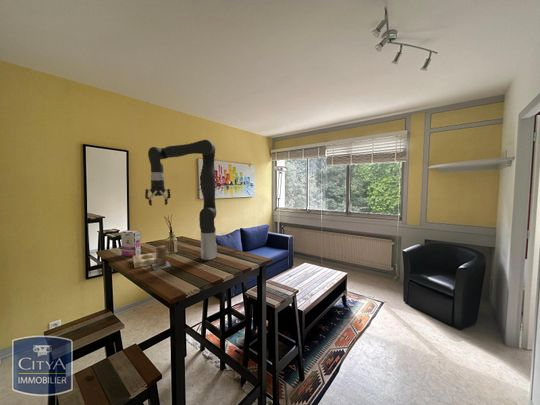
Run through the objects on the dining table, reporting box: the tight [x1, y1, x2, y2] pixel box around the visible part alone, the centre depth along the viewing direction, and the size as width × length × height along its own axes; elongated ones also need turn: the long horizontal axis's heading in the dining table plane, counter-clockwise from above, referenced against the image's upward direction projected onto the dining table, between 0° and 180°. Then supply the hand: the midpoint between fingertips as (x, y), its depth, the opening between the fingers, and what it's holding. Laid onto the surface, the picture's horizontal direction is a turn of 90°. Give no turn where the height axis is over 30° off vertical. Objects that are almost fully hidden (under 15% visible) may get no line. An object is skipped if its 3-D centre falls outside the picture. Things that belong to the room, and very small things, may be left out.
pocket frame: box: [132, 251, 156, 269], centre depth 137 cm, size 14×14×3 cm
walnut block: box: [155, 244, 167, 267], centre depth 130 cm, size 4×4×11 cm
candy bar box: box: [120, 229, 142, 258], centre depth 147 cm, size 11×5×16 cm, turn 76°
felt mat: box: [151, 260, 172, 271], centre depth 130 cm, size 9×9×1 cm
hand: (158, 205), depth 142 cm, fingers open, 8 cm apart
